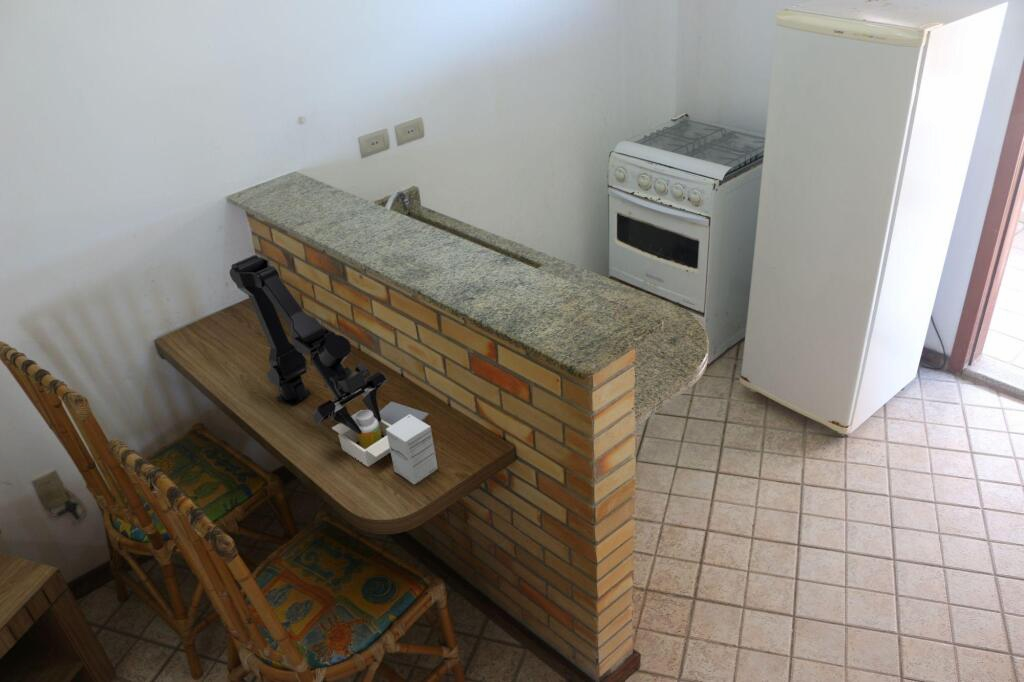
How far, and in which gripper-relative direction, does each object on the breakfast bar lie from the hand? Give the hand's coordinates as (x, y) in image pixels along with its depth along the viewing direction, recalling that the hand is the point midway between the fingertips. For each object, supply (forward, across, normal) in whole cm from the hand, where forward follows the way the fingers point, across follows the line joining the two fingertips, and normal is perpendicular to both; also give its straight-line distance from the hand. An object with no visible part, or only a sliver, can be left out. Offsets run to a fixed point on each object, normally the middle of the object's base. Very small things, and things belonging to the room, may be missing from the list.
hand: (370, 427), depth 196 cm
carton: (+4, 0, +6) cm, 7 cm away
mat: (+1, +12, +8) cm, 14 cm away
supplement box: (+14, +1, -5) cm, 15 cm away
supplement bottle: (+4, 0, +6) cm, 7 cm away
